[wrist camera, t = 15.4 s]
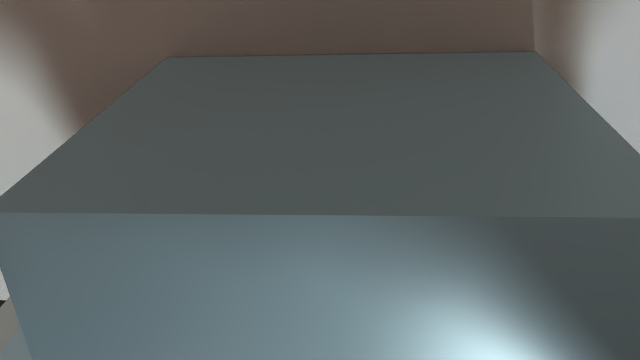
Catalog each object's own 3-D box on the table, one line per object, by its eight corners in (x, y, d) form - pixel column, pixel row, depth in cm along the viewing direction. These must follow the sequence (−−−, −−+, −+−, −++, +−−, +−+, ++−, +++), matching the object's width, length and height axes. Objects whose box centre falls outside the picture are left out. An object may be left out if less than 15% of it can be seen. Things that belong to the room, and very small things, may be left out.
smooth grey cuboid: (210, 334, 21) (115, 599, 13) (166, 57, 16) (-19, 212, 9) (496, 341, 20) (577, 631, 12) (535, 51, 16) (704, 218, 8)
